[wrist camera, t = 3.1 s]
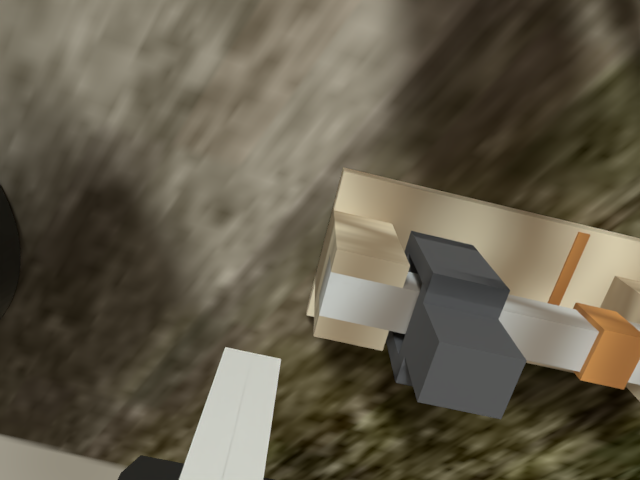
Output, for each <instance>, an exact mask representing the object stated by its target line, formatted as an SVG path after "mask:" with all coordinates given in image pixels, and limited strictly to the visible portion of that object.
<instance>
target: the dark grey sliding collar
mask: <svg viewBox="0 0 640 480" xmlns="http://www.w3.org/2000/svg"><path fill="white" fill-rule="evenodd" d="M404 253H405V255H406V257H407V260H408V262H409V264H410V268H409V271H408V272H412V273H416V274H419V276H420V278H421V281H422V283H423V284H422V287H421V290H420V293H419V296H418V298H417V301H416V304H415V307H414V310H413V313H412V316H411V319H410V322H409V325H408V328H407V331H406V334H402V333H398V332H393V331H389V333H388V336H387V339H386V343H387V347H388V352H389V356H390V360H391V365H392V369H393V373H394V378H395V382H396V383H400V384H404V385H409V386H413V388H414V392H415V395H416V399H417V402H420V403H425V404H430V405H435V406H440V407H444V408H449V409H454V410H459V411H464V412H469V413H473V414H478V415H483V416H488V417H493V418H498V419H501V418H502V416H503V414H504V411H505V409H506V407H507V404H508V402H509V400H510V398H511V395H512V393H513V391H514V388H515V386H516V384H517V382H518V379H519V377H520V375H521V373H522V370H523V368H524V366H525V363H526V361H527V360H526V359H525V357H524V356H523V354H522V353H521V352H520V350H519V349H518V347H517V346H516V344H515V343H514V341H513V340H512V338H511V337H510V335H509V334H508V333H507V331H506V330H505V328H504V327H503V325H502V324H501V322H500V321H499V317H500V315H501V312H502V310H503V307H504V305H505V302H506V300H507V297H508V295H509V292H510V289H509V288H508V287H507V286H506V285H505V283H504V282H503V281H502V280H501V278H500V277H499V276H498V275H497V274H496V272H495V271H494V270H493V269H492V267H491V266H490V265H489V264H488V263H487V261H486V260H485V259H484V258H483V257H482V255H481V254H480V253H479V252H478V250H477V249H476V248H475V247H474V246H473V245H471V244H466V243H462V242H458V241H453V240H449V239H445V238H440V237H436V236H432V235H428V234H423V233H419V232H415V231H411V233H410V236H409V239H408V242H407V245H406V248H405V252H404Z"/></svg>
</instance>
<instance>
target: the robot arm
mask: <svg viewBox="0 0 640 480" xmlns="http://www.w3.org/2000/svg"><path fill="white" fill-rule="evenodd" d="M19 272H20V244H19V238H18V232H17V228H16V224H15V220H14V217H13V214H12V211H11V209H10V206H9V204H8V201H7V199H6V197H5V195H4V193H3V191H2V189H1V187H0V319H1V317H2V316H3V315H4V313H5V311H6V310H7V308H8V307H9V305H10V302H11V300H12V298H13V296H14V293H15V290H16V287H17V283H18V278H19ZM280 363H281V359H279V358H274V357H269V356H265V355H260V354H255V353H250V352H246V351H241V350H236V349H232V348H227V347H225V349H224V352H223V355H222V358H221V361H220V364H219V367H218V369H217V372H216V375H215V378H214V381H213V384H212V387H211V389H210V392H209V395H208V398H207V401H206V404H205V407H204V409H203V412H202V415H201V418H200V421H199V424H198V427H197V429H196V432H195V435H194V438H193V441H192V444H191V447H190V449H189V452H188V455H187V458H186V461H185V464H183V463H177V462H172V461H167V460H162V459H157V458H152V457H147V456H140V457H138V458H137V459H136V460H135V461H134V462H133V463H132V464H131V465H129V466H128V467H127V468H126V469H125V470H124V471H123V472H121V474H120V476H119V479H118V480H273V479H268V478H264V471H265V464H266V458H267V451H268V444H269V437H270V430H271V424H272V417H273V410H274V403H275V397H276V390H277V383H278V376H279V369H280Z"/></svg>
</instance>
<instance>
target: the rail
mask: <svg viewBox="0 0 640 480" xmlns="http://www.w3.org/2000/svg"><path fill="white" fill-rule="evenodd" d="M411 231H415V232H419V233H423V234H428V235H432V236H436V237H440V238H445V239H449V240H453V241H458V242H462V243H466V244H471V245H473V246H474V247H475V248H476V249H477V250H478V252H479V253H480V254H481V255H482V257H483V258H484V259H485V260H486V261H487V263H488V264H489V265H490V266H491V267H492V269H493V270H494V271H495V272H496V274H497V275H498V276H499V277H500V278H501V280H502V281H503V282H504V283H505V285H506V286H507V287H508V288H509V289H510V292H509V295H508V297H507V300H506V302H505V305H504V307H503V310H502V312H501V315H500V317H499V321H500V322H501V324H502V325H503V327H504V328H505V330H506V331H507V333H508V334H509V335H510V337H511V338H512V340H513V341H514V343H515V344H516V346H517V347H518V349H519V350H520V352H521V353H522V354H523V356H524V357H525V359H526V360H527V361H526V363H530V364H534V365H539V366H544V367H548V368H553V369H558V370H562V371H567V372H571V373H575V374H576V376H577V377H578V378H579V379H580V380H582V381H586V382H591V383H595V384H600V385H605V386H609V387H614V388H619V389H623V390H624V388H625V386H626V387H627V388H628V389H629V390H630V391H631V393H632V394H633V395H634V396H635V397H636V398H637V399H638V400H639V401H640V238H636V237H632V236H627V235H623V234H619V233H615V232H611V231H607V230H602V229H598V228H594V227H590V226H586V225H582V224H577V223H573V222H569V221H565V220H561V219H557V218H552V217H548V216H544V215H540V214H536V213H532V212H527V211H523V210H519V209H515V208H511V207H507V206H502V205H498V204H494V203H490V202H486V201H482V200H477V199H473V198H469V197H465V196H461V195H457V194H452V193H448V192H444V191H440V190H436V189H432V188H427V187H423V186H419V185H415V184H411V183H407V182H402V181H398V180H394V179H390V178H386V177H381V176H377V175H373V174H369V173H365V172H361V171H356V170H352V169H348V168H344V167H343V170H342V174H341V177H340V181H339V185H338V189H337V193H336V197H335V201H334V204H333V208H332V212H331V216H330V220H329V224H328V228H327V232H326V235H325V239H324V243H323V247H322V251H321V255H320V259H319V263H318V266H317V270H316V274H315V278H314V282H313V286H312V290H311V293H310V297H309V301H308V305H307V315H308V316H312V317H314V336H315V337H320V338H324V339H329V340H334V341H338V342H343V343H348V344H352V345H357V346H362V347H366V348H371V349H376V350H381V351H383V348H384V345H385V342H386V339H387V336H388V333H389V331H393V332H398V333H402V334H406V331H407V328H408V325H409V322H410V319H411V316H412V313H413V310H414V307H415V304H416V301H417V298H418V296H419V293H420V290H421V287H422V284H423V283H422V281H421V278H420V276H419V274H416V273H412V272H408V271H409V268H410V264H409V262H408V260H407V257H406V255H405V253H404V252H405V248H406V245H407V242H408V239H409V236H410V233H411Z"/></svg>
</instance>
